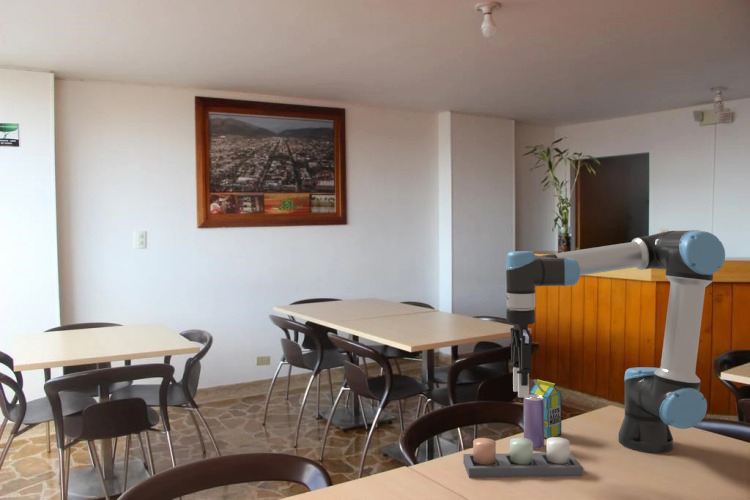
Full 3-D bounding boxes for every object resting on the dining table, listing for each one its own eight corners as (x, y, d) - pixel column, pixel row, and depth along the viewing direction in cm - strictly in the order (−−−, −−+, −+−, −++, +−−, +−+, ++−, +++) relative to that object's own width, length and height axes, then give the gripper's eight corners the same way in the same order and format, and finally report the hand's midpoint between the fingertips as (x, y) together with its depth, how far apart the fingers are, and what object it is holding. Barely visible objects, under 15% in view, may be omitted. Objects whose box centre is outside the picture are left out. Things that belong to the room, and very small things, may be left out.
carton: (527, 434, 187) (526, 377, 186) (542, 429, 191) (542, 374, 191) (546, 440, 181) (546, 382, 180) (561, 435, 186) (561, 378, 185)
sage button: (529, 455, 162) (529, 437, 162) (535, 463, 156) (535, 445, 156) (507, 455, 162) (507, 437, 162) (512, 464, 156) (512, 445, 156)
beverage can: (545, 450, 173) (544, 400, 172) (524, 449, 174) (524, 399, 173) (543, 443, 179) (543, 394, 178) (523, 442, 180) (523, 393, 179)
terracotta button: (493, 455, 162) (493, 437, 162) (497, 464, 156) (497, 445, 156) (471, 455, 162) (471, 438, 162) (475, 464, 156) (475, 446, 156)
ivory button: (565, 454, 162) (565, 437, 162) (572, 463, 156) (572, 445, 156) (543, 455, 162) (543, 437, 162) (550, 463, 156) (550, 445, 156)
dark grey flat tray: (570, 461, 164) (570, 452, 164) (582, 476, 154) (582, 467, 154) (463, 462, 164) (463, 453, 164) (469, 477, 154) (469, 468, 154)
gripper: (499, 304, 167) (500, 385, 168) (514, 313, 149) (514, 403, 150) (526, 304, 167) (526, 385, 168) (544, 312, 149) (544, 403, 150)
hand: (521, 393), depth 159 cm, fingers open, 5 cm apart
